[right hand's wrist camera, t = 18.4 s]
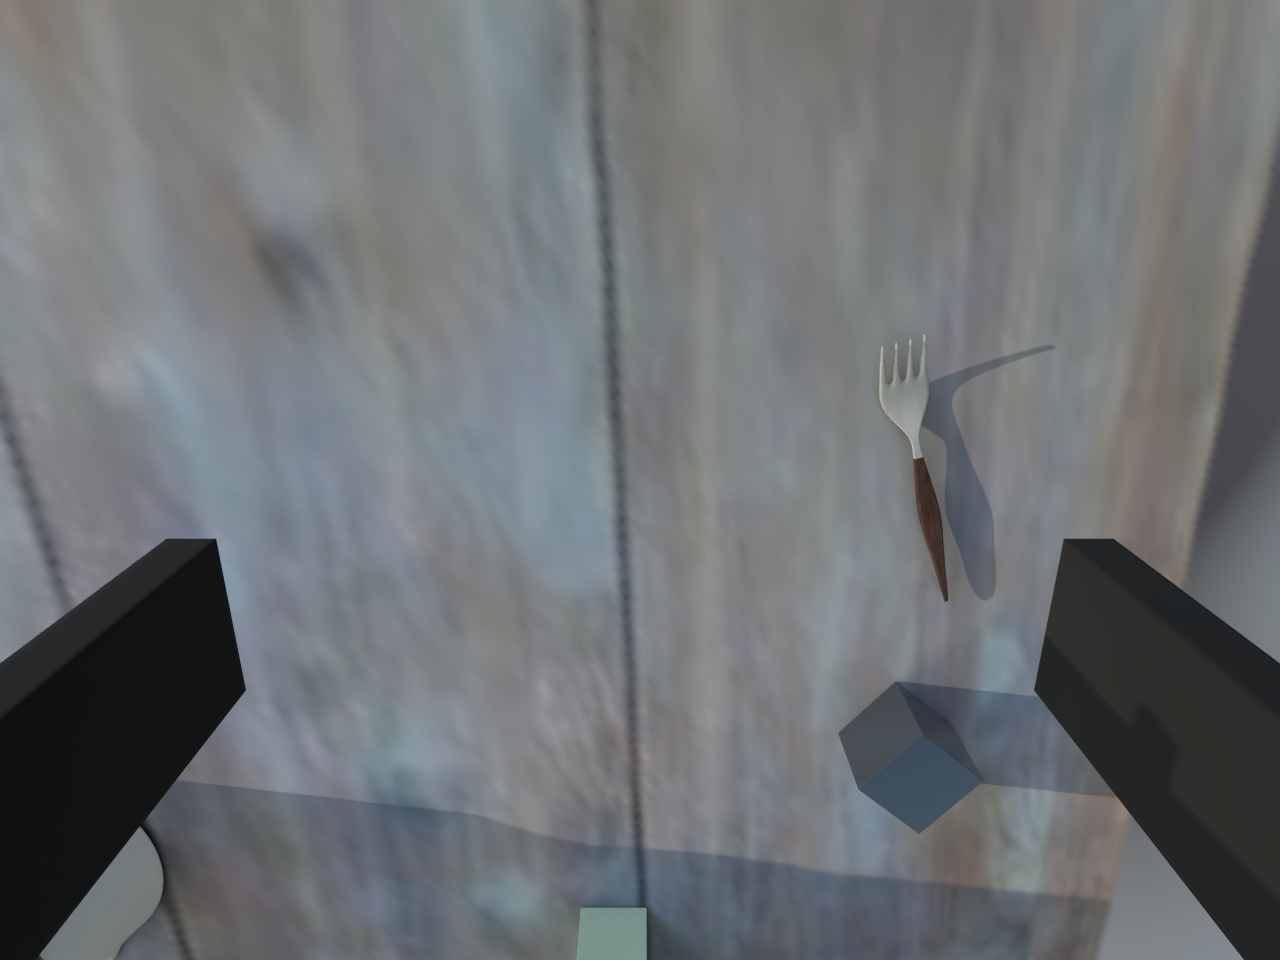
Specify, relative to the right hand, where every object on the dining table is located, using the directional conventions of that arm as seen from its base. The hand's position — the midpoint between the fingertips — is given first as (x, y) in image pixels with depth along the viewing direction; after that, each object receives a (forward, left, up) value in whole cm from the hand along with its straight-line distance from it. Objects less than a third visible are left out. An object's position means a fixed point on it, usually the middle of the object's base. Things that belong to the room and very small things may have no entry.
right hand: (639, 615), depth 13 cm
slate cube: (-1, +30, -31) cm, 43 cm away
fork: (-9, +15, -31) cm, 35 cm away
